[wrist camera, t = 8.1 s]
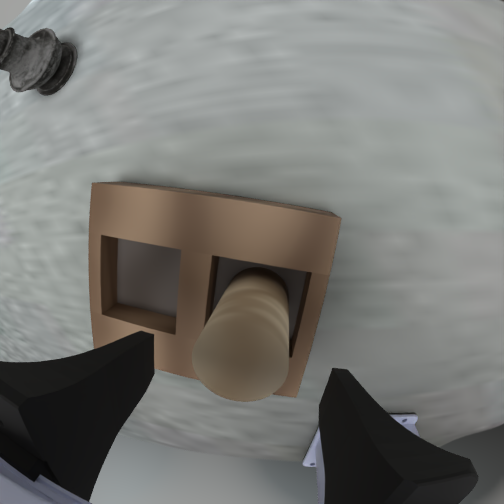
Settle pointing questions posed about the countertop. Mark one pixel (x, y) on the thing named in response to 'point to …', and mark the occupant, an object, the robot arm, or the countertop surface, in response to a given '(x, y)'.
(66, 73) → the grey chess piece
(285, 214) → the block
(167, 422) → the countertop surface
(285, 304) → the beech pin
